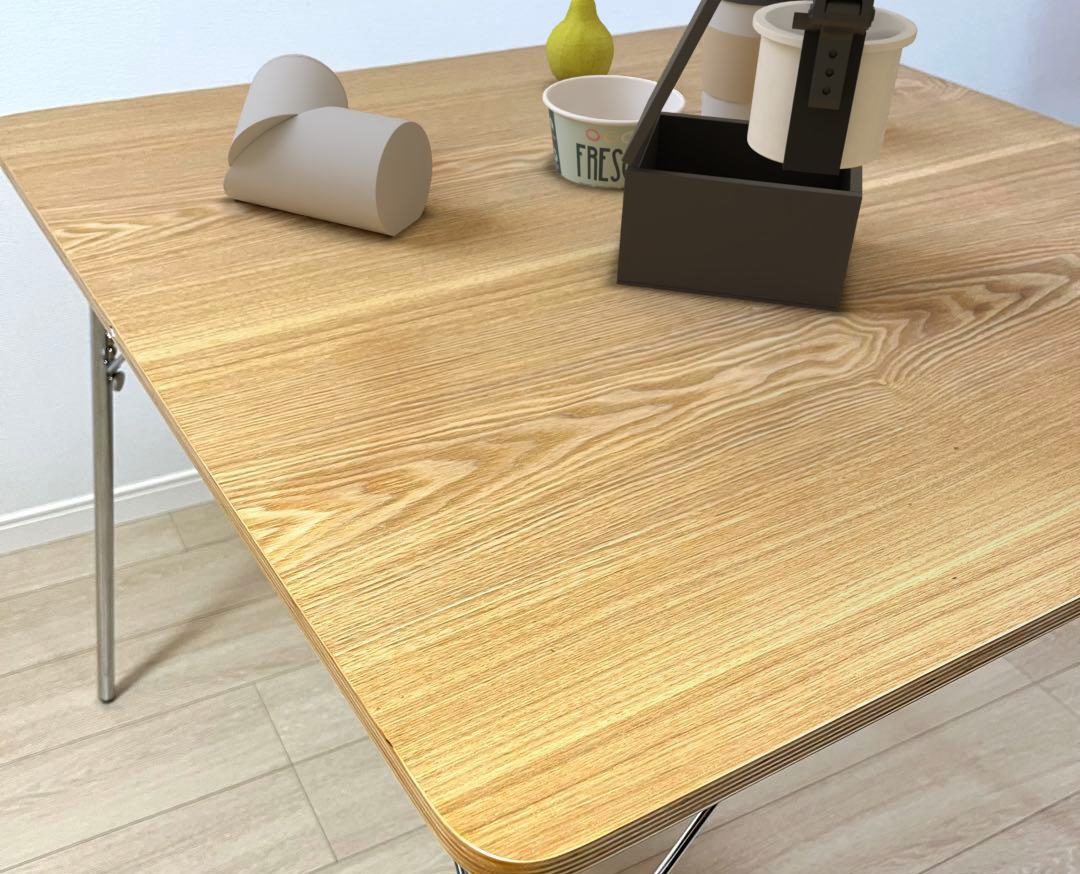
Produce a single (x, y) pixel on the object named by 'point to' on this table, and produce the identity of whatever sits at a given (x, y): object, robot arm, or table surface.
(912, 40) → the white short cylinder
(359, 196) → the elbow connector
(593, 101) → the food container
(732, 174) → the open brown storage bin
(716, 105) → the coffee cup
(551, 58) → the fruit
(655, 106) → the lid
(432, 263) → the table surface
